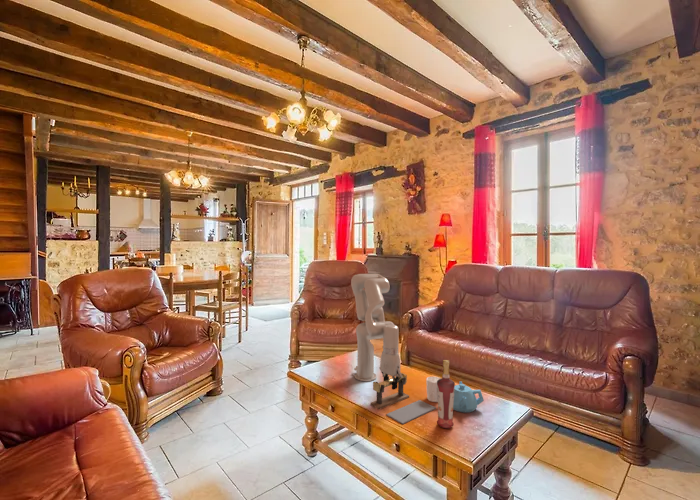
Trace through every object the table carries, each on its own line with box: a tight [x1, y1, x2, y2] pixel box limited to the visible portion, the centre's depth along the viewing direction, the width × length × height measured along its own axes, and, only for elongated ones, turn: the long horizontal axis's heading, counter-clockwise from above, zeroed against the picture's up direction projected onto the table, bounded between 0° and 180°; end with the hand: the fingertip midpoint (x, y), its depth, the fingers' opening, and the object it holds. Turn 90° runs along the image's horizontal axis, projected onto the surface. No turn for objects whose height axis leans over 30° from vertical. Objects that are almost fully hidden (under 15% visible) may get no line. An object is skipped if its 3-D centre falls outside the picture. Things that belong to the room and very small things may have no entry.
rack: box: [369, 377, 410, 410], centre depth 171 cm, size 6×21×10 cm, turn 129°
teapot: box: [453, 381, 485, 414], centre depth 166 cm, size 15×15×11 cm
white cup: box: [425, 376, 441, 403], centre depth 173 cm, size 8×8×10 cm
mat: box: [386, 399, 437, 425], centre depth 160 cm, size 10×23×1 cm, turn 129°
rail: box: [372, 372, 408, 393], centre depth 171 cm, size 20×4×4 cm, turn 129°
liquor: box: [436, 359, 456, 430], centre depth 148 cm, size 7×7×28 cm
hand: (390, 386), depth 171 cm, fingers open, 5 cm apart
